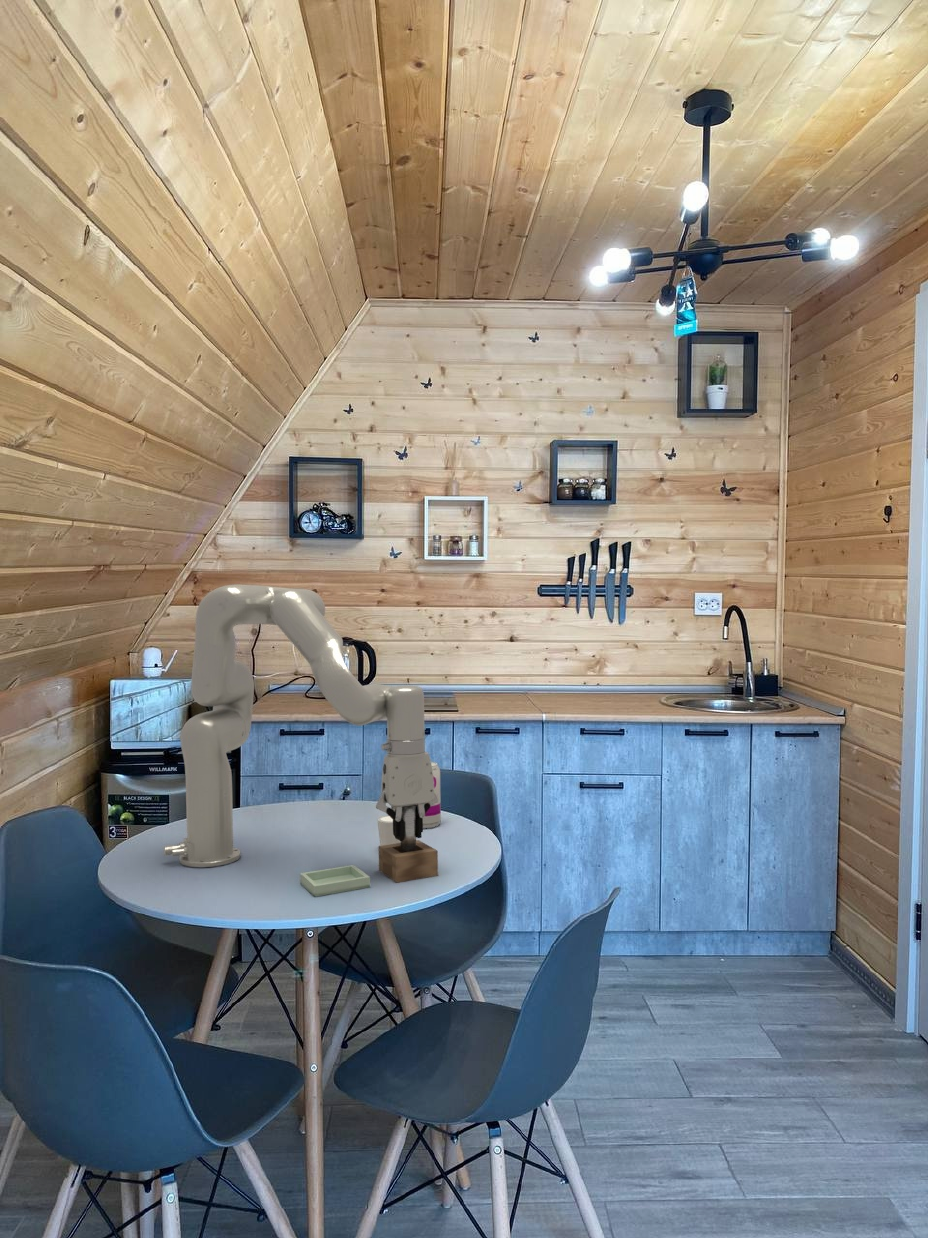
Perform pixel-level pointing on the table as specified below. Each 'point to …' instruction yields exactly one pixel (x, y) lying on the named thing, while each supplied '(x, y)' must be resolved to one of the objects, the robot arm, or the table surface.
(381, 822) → the white cylinder
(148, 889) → the table surface
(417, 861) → the bore block
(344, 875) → the tray
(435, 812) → the supplement can
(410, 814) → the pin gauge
